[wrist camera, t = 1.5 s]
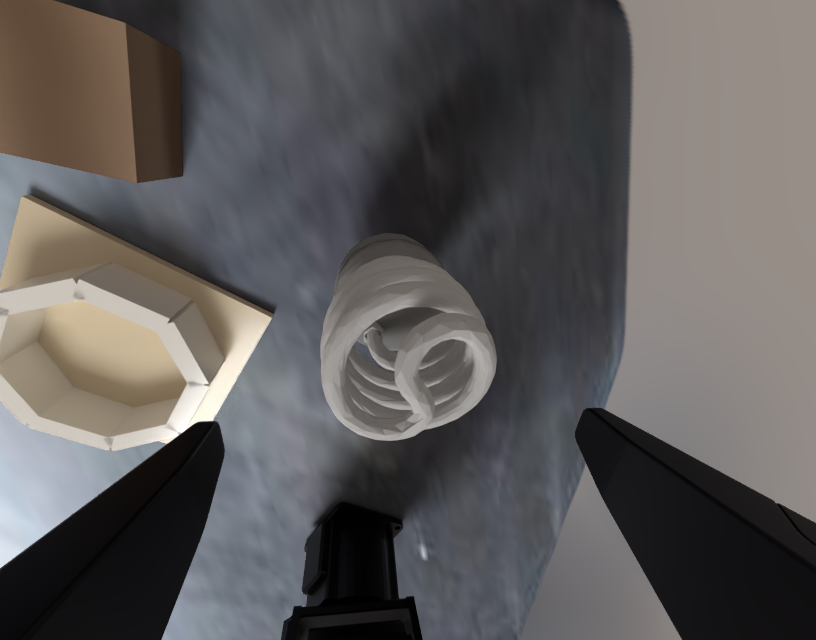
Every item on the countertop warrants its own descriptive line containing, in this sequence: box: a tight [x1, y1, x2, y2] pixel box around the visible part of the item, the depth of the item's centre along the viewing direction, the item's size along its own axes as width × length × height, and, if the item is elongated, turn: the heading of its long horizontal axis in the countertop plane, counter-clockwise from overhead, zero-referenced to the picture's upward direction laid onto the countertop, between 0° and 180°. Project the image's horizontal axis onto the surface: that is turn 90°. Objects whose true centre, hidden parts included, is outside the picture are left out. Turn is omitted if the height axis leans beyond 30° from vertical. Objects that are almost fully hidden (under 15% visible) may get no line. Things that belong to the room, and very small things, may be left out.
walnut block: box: [0, 0, 183, 183], centre depth 13 cm, size 5×5×4 cm
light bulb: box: [321, 233, 497, 441], centre depth 15 cm, size 6×6×12 cm
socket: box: [0, 195, 274, 451], centre depth 19 cm, size 12×12×3 cm
